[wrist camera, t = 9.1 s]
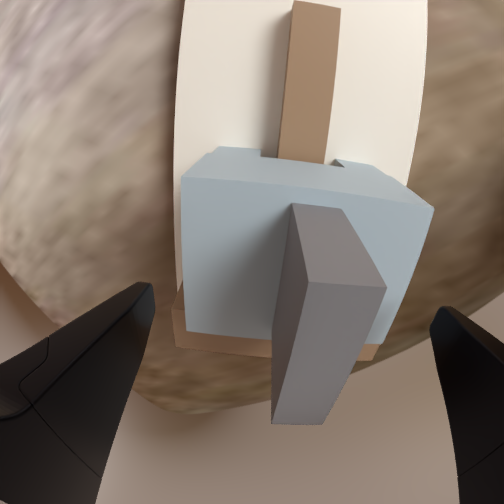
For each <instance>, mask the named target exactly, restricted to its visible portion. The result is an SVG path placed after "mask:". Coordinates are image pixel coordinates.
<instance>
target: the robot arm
mask: <svg viewBox="0 0 504 504" xmlns="http://www.w3.org/2000/svg"><path fill="white" fill-rule="evenodd" d="M154 313H155V301H154V293H153V287H152V285H151V284H150V283H146V282H136V283H135V284H133V285H131V286H130V287H128V288H126V289H125V290H123V291H121V292H119V293H118V294H116V295H114V296H113V297H111V298H109V299H108V300H106V301H104V302H103V303H101V304H99V305H98V306H96V307H94V308H93V309H91V310H90V311H88V312H86V313H85V314H83V315H81V316H80V317H78V318H76V319H75V320H73V321H72V322H70V323H68V324H67V325H65V326H64V327H62V328H60V329H59V330H57V331H56V332H54V333H52V334H51V335H49V337H46V338H44V339H43V340H41V341H40V342H38V343H36V344H35V345H33V346H32V347H30V348H28V349H26V350H25V351H23V352H21V353H20V354H18V355H16V356H14V357H12V358H11V359H9V360H7V361H5V362H3V363H1V364H0V504H95V502H96V499H97V495H98V491H99V488H100V484H101V480H102V476H103V473H104V470H105V466H106V463H107V460H108V457H109V453H110V450H111V447H112V444H113V441H114V438H115V435H116V431H117V429H118V426H119V423H120V420H121V417H122V413H123V411H124V408H125V405H126V402H127V399H128V397H129V394H130V391H131V388H132V385H133V383H134V380H135V377H136V375H137V372H138V369H139V367H140V364H141V361H142V358H143V355H144V352H145V348H146V344H147V340H148V336H149V332H150V328H151V325H152V321H153V317H154ZM430 336H431V341H432V346H433V351H434V356H435V362H436V367H437V372H438V376H439V380H440V384H441V388H442V392H443V395H444V400H445V405H446V409H447V414H448V419H449V423H450V429H451V434H452V439H453V446H454V452H455V460H456V467H457V476H458V488H459V502H460V504H504V344H503V343H502V342H501V341H499V340H498V339H497V338H495V337H494V336H493V335H491V334H490V333H489V332H487V331H486V330H484V329H483V328H482V327H480V326H479V325H477V324H476V323H474V322H473V321H472V320H470V319H469V318H467V317H466V316H464V315H463V314H462V313H460V312H459V311H457V310H456V309H454V308H453V307H451V306H442V307H440V308H439V309H438V311H437V313H436V315H435V317H434V319H433V321H432V323H431V325H430Z"/></svg>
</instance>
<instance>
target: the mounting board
mask: <svg viewBox="0 0 504 504" xmlns="http://www.w3.org/2000/svg"><path fill="white" fill-rule="evenodd" d="M426 46H427V0H185V7H184V14H183V22H182V31H181V40H180V50H179V61H178V73H177V87H176V104H175V126H174V236H175V259H176V277H177V292H178V293H177V295H176V297H175V300H174V302H173V305H172V307H171V314H172V323H173V332H174V340H175V347H179V348H186V349H193V350H201V351H208V352H216V353H225V354H234V355H244V356H255V357H268V358H272V340H265V339H253V338H243V337H233V336H223V335H215V334H206V333H198V332H191V331H186V319H185V305H184V288H183V268H182V241H181V176H182V175H183V174H184V173H185V172H186V171H187V170H189V169H190V168H191V167H192V166H193V165H194V164H195V163H196V162H197V161H198V160H199V159H201V158H202V157H203V156H204V155H205V154H206V153H212V152H213V151H214V150H215V149H216V148H217V147H218V146H226V147H240V148H253V149H261V154H260V157H268V158H277V159H286V160H295V161H303V162H310V163H317V164H324V165H331V166H334V163H335V159H340V160H346V161H352V162H358V163H363V164H369V165H373V166H374V167H376V168H377V169H379V170H380V171H382V172H383V173H385V174H386V175H388V176H392V177H393V178H394V179H396V180H397V181H399V182H400V183H401V184H403V185H404V186H406V184H407V180H408V175H409V171H410V166H411V161H412V156H413V151H414V146H415V141H416V135H417V129H418V123H419V116H420V109H421V102H422V93H423V84H424V74H425V62H426ZM379 345H380V344H364V345H363V347H362V350H361V352H360V354H359V356H358V358H357V360H356V361H372V359H373V357H374V355H375V353H376V351H377V349H378V347H379Z"/></svg>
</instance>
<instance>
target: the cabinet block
mask: <svg viewBox="0 0 504 504" xmlns="http://www.w3.org/2000/svg"><path fill="white" fill-rule="evenodd" d="M260 154H261V149H253V148H240V147H226V146H218V147H217V148H216V149H215V150H214V151H213V152H212V153H206V154H205V155H204V156H203V157H202V158H201V159H199V160H198V161H197V162H196V163H195V164H194V165H193V166H192V167H191V168H190V169H189V170H187V171H186V172H185V173H184V174H183V175H182V176H181V241H182V268H183V288H184V305H185V319H186V331H191V332H198V333H206V334H215V335H223V336H233V337H243V338H253V339H265V340H272V395H271V402H272V403H271V424H291V425H320V424H323V422H324V421H325V419H326V417H327V415H328V414H329V412H330V410H331V408H332V407H333V405H334V403H335V401H336V399H337V398H338V396H339V394H340V392H341V390H342V388H343V386H344V384H345V382H346V380H347V378H348V376H349V374H350V372H351V370H352V368H353V366H354V364H355V362H356V360H357V358H358V356H359V354H360V352H361V350H362V347H363V345H364V344H382V343H383V341H384V339H385V337H386V335H387V333H388V331H389V329H390V327H391V324H392V322H393V320H394V318H395V316H396V313H397V311H398V309H399V307H400V304H401V302H402V300H403V297H404V295H405V292H406V290H407V287H408V285H409V282H410V280H411V277H412V275H413V272H414V269H415V267H416V264H417V261H418V259H419V256H420V253H421V250H422V247H423V244H424V241H425V238H426V235H427V232H428V229H429V226H430V222H431V219H432V216H433V212H434V208H433V207H432V206H431V205H429V204H428V203H427V202H425V201H424V200H423V199H422V198H420V197H419V196H418V195H416V194H415V193H414V192H412V191H411V190H410V189H408V188H407V187H406V186H404V185H403V184H401V183H400V182H399V181H397V180H396V179H394V178H393V177H392V176H388V175H386V174H385V173H383V172H382V171H380V170H379V169H377V168H376V167H374V166H373V165H369V164H363V163H358V162H352V161H346V160H340V159H335V163H334V166H331V165H324V164H317V163H310V162H303V161H295V160H286V159H277V158H268V157H260Z"/></svg>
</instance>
